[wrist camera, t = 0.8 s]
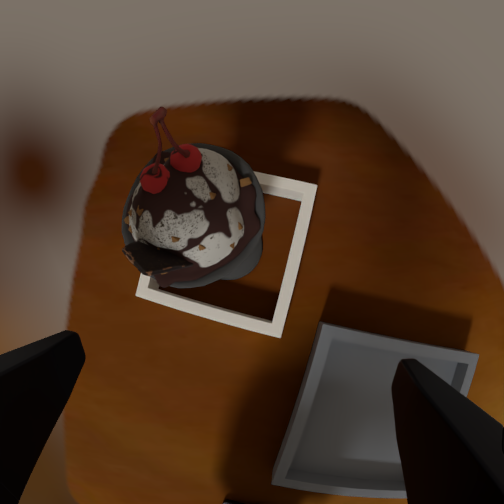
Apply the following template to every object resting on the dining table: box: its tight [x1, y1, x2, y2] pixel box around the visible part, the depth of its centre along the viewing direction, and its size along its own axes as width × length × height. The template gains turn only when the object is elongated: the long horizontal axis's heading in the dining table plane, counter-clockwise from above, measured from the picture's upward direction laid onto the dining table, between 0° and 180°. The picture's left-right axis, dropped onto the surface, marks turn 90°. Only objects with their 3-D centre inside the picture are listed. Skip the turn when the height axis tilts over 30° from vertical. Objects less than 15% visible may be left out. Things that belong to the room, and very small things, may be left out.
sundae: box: [122, 107, 265, 288], centre depth 16 cm, size 7×7×15 cm
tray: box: [271, 321, 479, 498], centre depth 19 cm, size 13×13×2 cm
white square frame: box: [136, 171, 317, 338], centre depth 23 cm, size 11×11×2 cm
